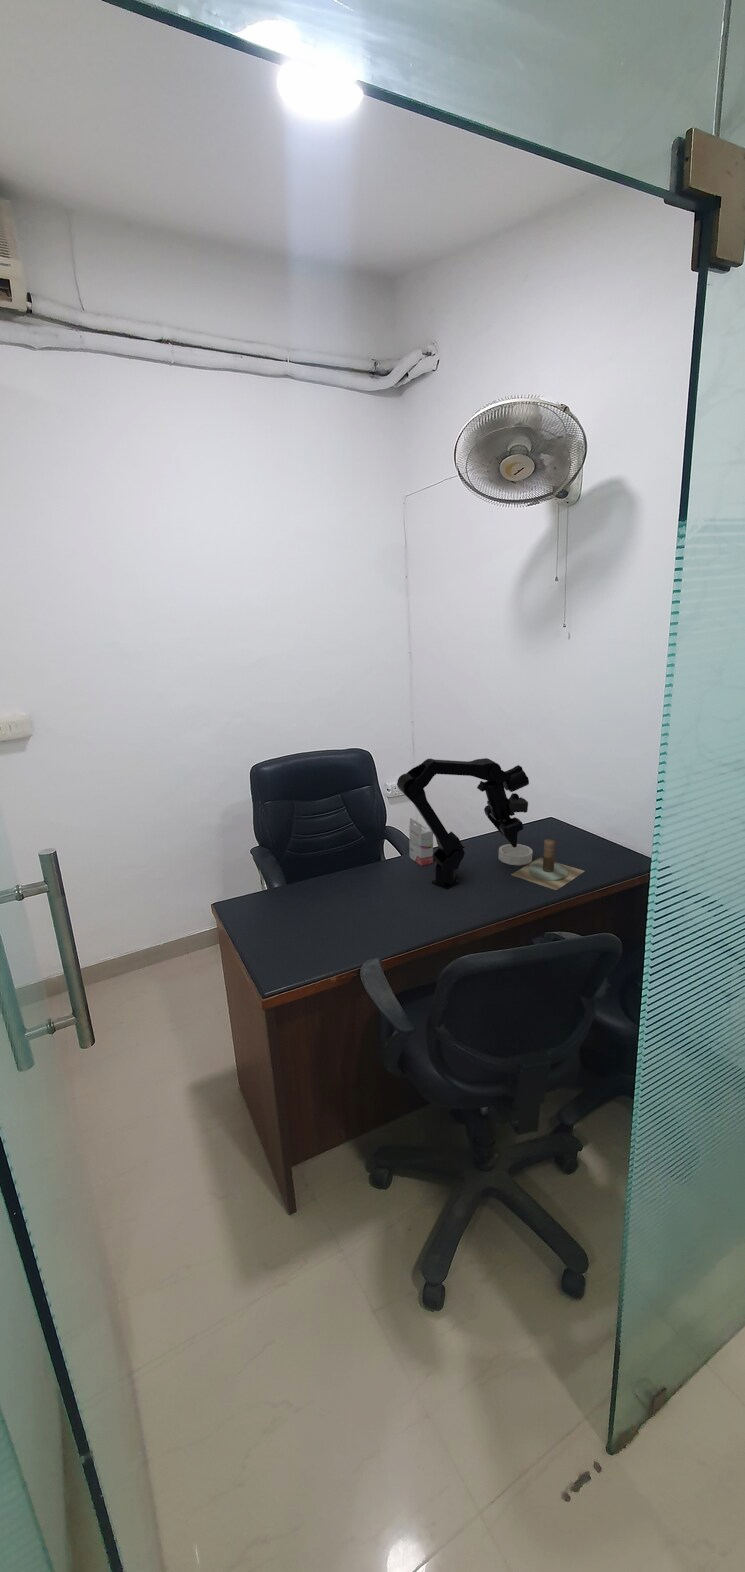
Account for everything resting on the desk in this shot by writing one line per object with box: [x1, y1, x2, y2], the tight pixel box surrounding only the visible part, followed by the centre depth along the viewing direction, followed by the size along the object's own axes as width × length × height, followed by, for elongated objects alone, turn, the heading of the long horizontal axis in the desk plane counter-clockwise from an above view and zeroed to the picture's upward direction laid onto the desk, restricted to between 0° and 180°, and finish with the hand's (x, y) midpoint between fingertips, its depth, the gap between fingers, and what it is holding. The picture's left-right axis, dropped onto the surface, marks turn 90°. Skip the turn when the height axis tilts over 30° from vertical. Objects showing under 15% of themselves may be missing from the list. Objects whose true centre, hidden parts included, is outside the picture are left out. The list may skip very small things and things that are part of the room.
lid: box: [529, 838, 568, 881], centre depth 192 cm, size 12×12×11 cm
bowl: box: [497, 843, 534, 866], centre depth 204 cm, size 11×11×3 cm
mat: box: [510, 857, 586, 891], centre depth 193 cm, size 18×16×1 cm
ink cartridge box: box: [408, 817, 434, 867], centre depth 204 cm, size 9×5×15 cm, turn 25°
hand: (509, 840), depth 191 cm, fingers open, 9 cm apart
